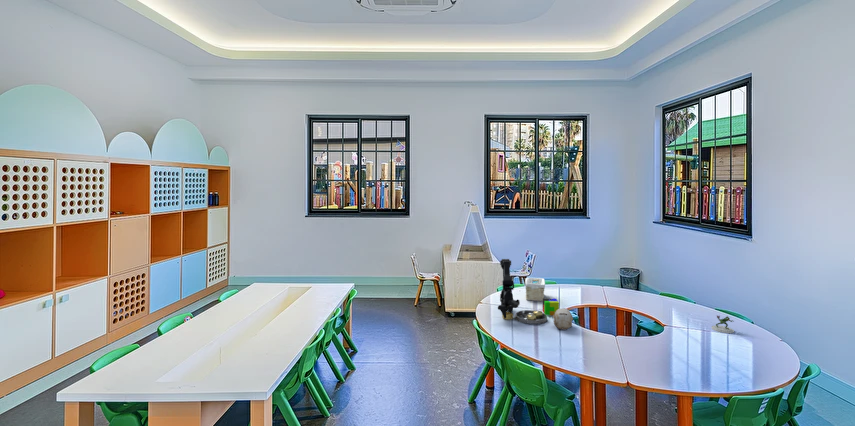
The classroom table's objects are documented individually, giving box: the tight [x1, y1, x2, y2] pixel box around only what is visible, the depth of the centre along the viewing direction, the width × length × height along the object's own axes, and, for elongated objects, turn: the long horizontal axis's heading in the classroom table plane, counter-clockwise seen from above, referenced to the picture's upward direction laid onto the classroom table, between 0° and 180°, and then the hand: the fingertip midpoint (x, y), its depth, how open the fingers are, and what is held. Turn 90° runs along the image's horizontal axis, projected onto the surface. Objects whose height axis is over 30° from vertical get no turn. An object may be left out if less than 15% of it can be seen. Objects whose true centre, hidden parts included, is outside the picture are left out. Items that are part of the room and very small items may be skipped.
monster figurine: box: [711, 314, 735, 334], centre depth 258 cm, size 12×12×10 cm
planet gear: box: [501, 311, 514, 321], centre depth 285 cm, size 7×7×4 cm
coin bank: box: [552, 308, 574, 331], centre depth 267 cm, size 16×17×13 cm
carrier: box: [514, 309, 548, 325], centre depth 283 cm, size 22×22×5 cm
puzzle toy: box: [542, 297, 560, 316], centre depth 294 cm, size 10×10×10 cm
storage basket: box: [524, 277, 546, 302], centre depth 335 cm, size 24×16×15 cm
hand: (507, 316), depth 285 cm, fingers closed on planet gear, 7 cm apart
